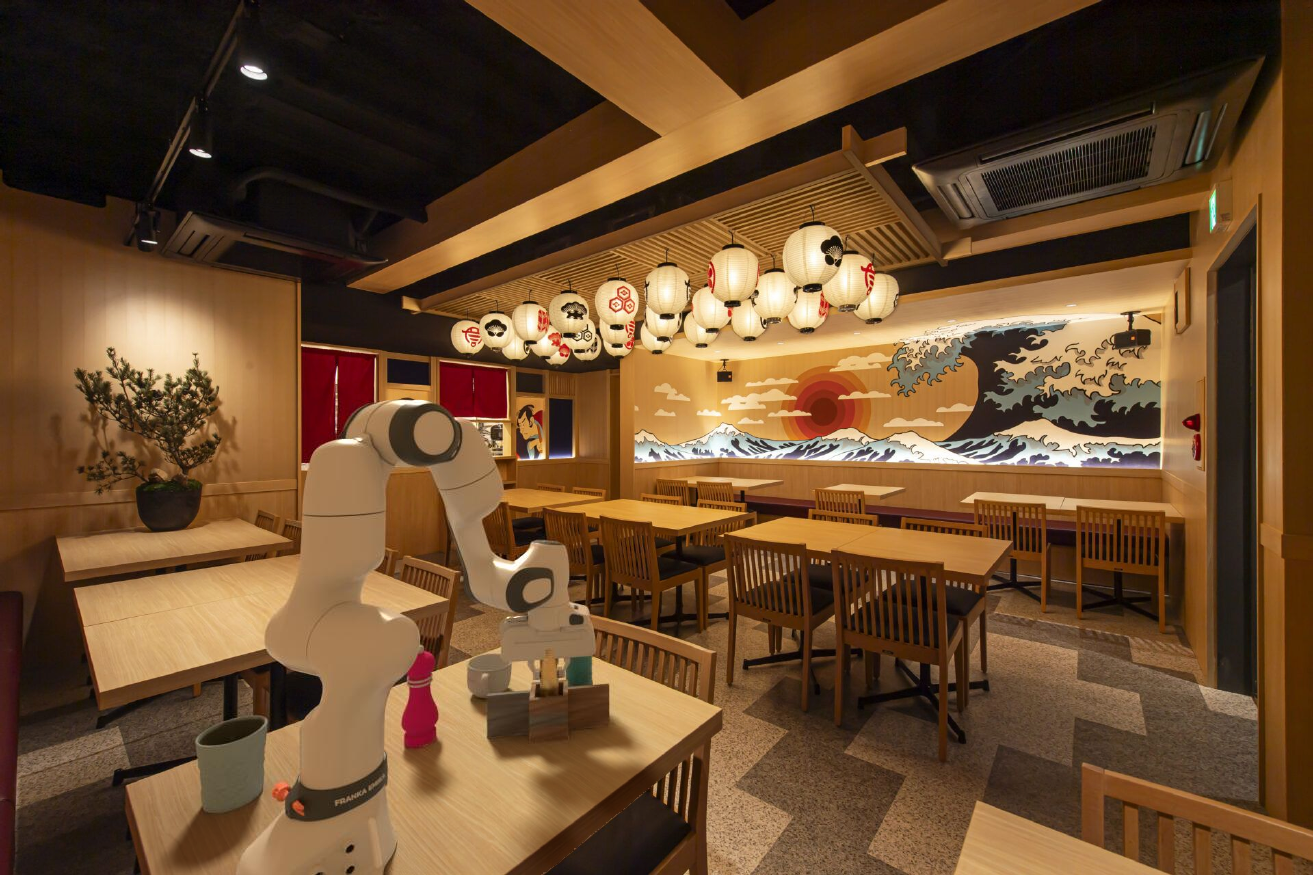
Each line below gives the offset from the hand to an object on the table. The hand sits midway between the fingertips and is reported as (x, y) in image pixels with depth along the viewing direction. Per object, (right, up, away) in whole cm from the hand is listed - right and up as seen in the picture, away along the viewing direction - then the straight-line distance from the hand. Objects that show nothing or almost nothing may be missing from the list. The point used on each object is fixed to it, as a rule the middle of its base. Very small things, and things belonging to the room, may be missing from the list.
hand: (549, 677), depth 115 cm
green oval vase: (-53, -12, -20) cm, 58 cm away
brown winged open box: (0, -12, 0) cm, 12 cm away
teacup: (-18, -12, +16) cm, 27 cm away
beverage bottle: (+5, -12, +11) cm, 17 cm away
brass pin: (0, -9, 0) cm, 9 cm away
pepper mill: (-27, -12, -3) cm, 29 cm away
